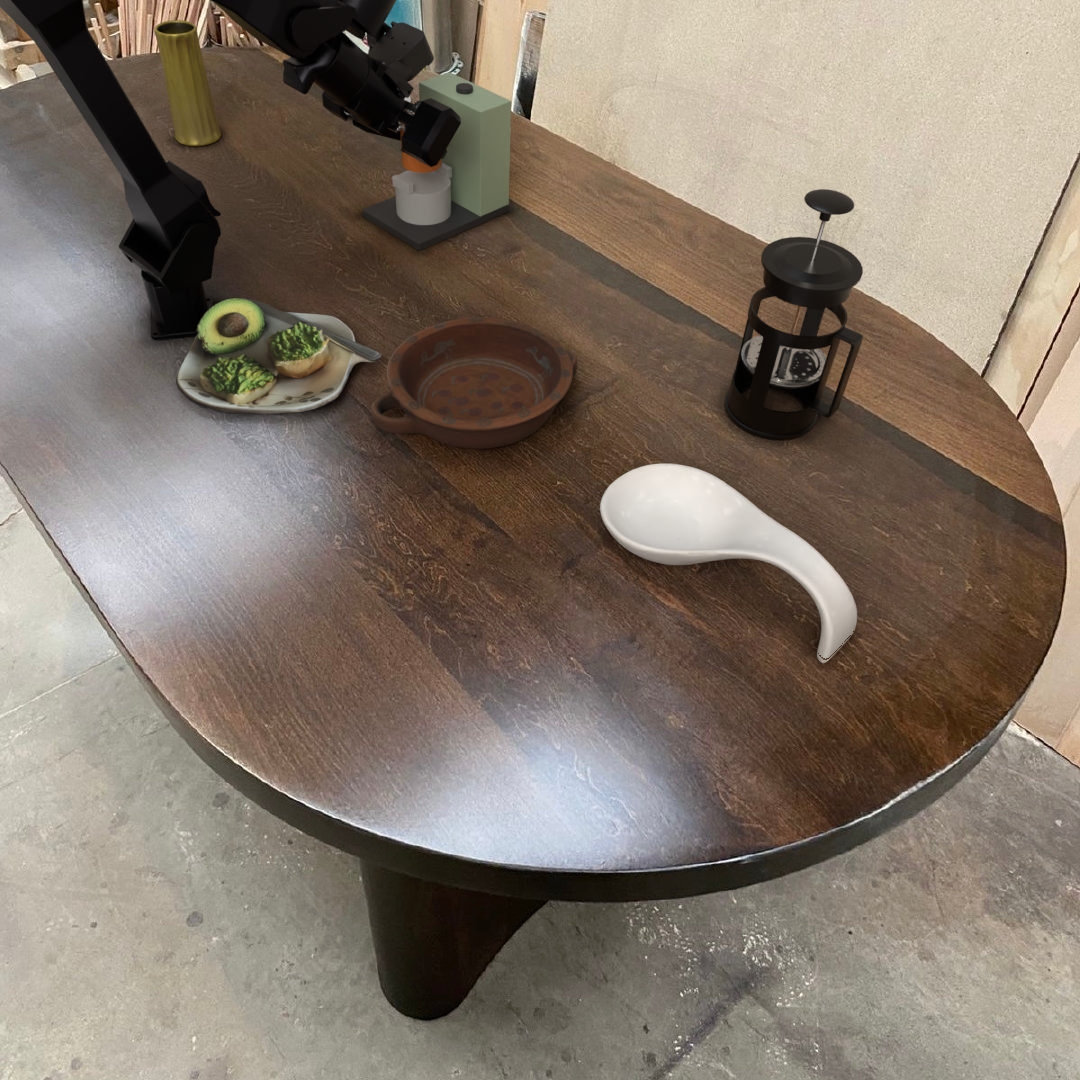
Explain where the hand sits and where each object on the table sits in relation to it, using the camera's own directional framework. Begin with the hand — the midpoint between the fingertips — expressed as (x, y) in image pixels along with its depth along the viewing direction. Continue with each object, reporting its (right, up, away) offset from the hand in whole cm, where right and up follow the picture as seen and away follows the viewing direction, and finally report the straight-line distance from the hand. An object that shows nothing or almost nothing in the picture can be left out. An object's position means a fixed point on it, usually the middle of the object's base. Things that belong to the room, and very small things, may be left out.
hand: (430, 147), depth 115 cm
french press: (+37, -34, -18) cm, 53 cm away
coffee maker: (0, -6, +7) cm, 9 cm away
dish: (+7, -34, -19) cm, 40 cm away
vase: (-34, +9, +18) cm, 40 cm away
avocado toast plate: (-15, -30, -17) cm, 37 cm away
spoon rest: (+29, -50, -33) cm, 66 cm away
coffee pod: (-1, -2, 0) cm, 2 cm away
